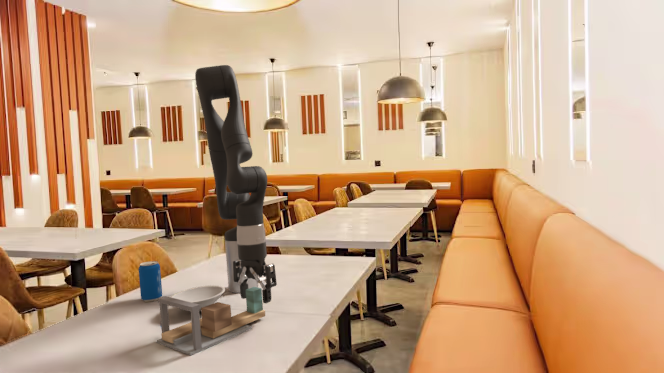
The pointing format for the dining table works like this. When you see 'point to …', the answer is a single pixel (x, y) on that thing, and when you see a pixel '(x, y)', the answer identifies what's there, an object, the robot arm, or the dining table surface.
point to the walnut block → (216, 316)
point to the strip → (243, 313)
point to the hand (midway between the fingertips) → (255, 300)
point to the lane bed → (195, 339)
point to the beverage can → (150, 281)
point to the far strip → (177, 332)
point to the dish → (200, 295)
